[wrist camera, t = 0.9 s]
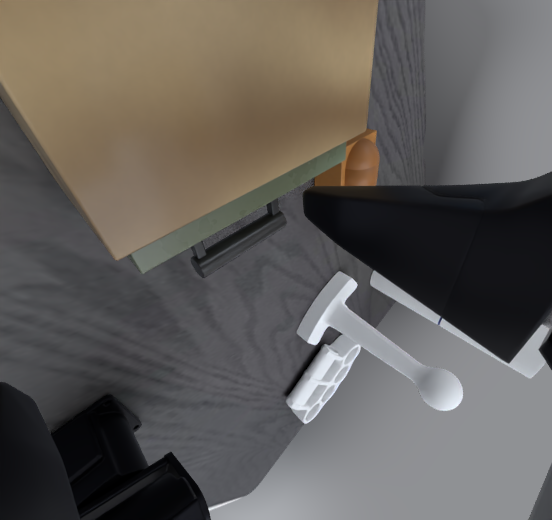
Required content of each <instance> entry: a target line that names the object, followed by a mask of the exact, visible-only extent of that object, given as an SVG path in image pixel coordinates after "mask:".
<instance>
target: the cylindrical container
mask: <svg viewBox="0 0 552 520" xmlns="http://www.w3.org/2000/svg"><path fill="white" fill-rule="evenodd" d="M370 285H371V286H372V287H374V288H376V289H377V290H379V291H381V292H382V293H384V294H386V295H388V296H389V297H391V298H393V299H394V300H396V301H398V302H399V303H401V304H403V305H405V306H406V307H408V308H410V309H411V310H413V311H415V312H417V313H418V314H420V315H422V316H424V317H425V318H427V319H429V320H430V321H432V322H434V323H435V324H437V325H440V326H441V327H442V328H444V329H446V330H447V331H449V332H451V333H452V334H454V335H456V336H458V337H459V338H461V339H463V340H464V341H466V342H468V343H470V344H471V345H473V346H475V347H476V348H478V349H480V350H482V351H483V352H485V353H487V354H488V355H490V356H492V357H493V358H495V359H497V360H499V361H500V362H502V363H504V364H506V365H507V366H509V367H511V368H512V369H514V370H516V371H518V372H519V373H521V374H523V375H524V376H526V377H528V378H529V379H530V378H532V377H533V376H534V375H535V374H536V373H537V372H538V371H539V370H540V369H541V368H542V367H543V365H544V364H545V362H546V361H545V359H544V358H543V356H542V355H541V353H540V351H539V350H538V349H539V348H540V346H541V344H542V342H543V340H544V338H545V337H546V335H547V333H548V331H549V329H548V328H546V327H544V326H542V325H541V326H540V327H539V328H538V329H537V331H536V332H535V333H534V334H533V336H532V337H531V338H530V339H529V340H528V342H527V343H526V344H525V345H524V346H523V348H522V349H521V350H520V351H519V353H518V354H517V355H516V356H515V357H514V359H513V360H512V361H511V362H510V363H509V364H508V363H506V362H504V361H503V360H501V359H500V358H498V357H497V356H495V355H494V354H493V353H491V352H490V351H488V350H487V349H485V348H484V347H483V346H481V345H480V344H478V343H477V342H475V341H474V340H473V339H471V338H470V337H468V336H467V335H465V334H464V333H463V332H461V331H460V330H458V329H457V328H455V327H454V326H453V325H451V324H450V323H448V322H447V321H445V320H444V319H443V318H441V316H439V315H437V314H436V313H434V312H433V311H432V310H430V309H429V308H427V307H426V306H424V305H423V304H422V303H420V302H419V301H417V300H416V299H414V298H413V297H412V296H410V295H409V294H407V293H406V292H404V291H403V290H402V289H400V288H399V287H397V286H396V285H394V284H393V283H392V282H390V281H389V280H387V279H386V278H384V277H383V276H382V275H380V274H379V273H377V272H376V271H373V273H372V276H371V280H370Z"/></svg>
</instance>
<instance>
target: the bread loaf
mask: <svg viewBox="0 0 552 520" xmlns="http://www.w3.org/2000/svg"><path fill="white" fill-rule="evenodd" d="M376 132H377V131H376V130H371V129H366V131H365V132H363V133H361V134H359V135H357V136H356V137H354V138H352V139H350V140H348V141H346V159H345V160H344V161H342V162H341V163H339V164H337V165H335V166H334V167H332V168H330V169H328V170H326V171H325V172H323V173H321V174H319V175H318V176H316V177H315V186H376V182H377V175H378V167H379V152H378V149H377V147H376V146H375V141H376Z"/></svg>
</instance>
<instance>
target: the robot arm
mask: <svg viewBox="0 0 552 520" xmlns="http://www.w3.org/2000/svg"><path fill="white" fill-rule="evenodd" d="M303 206H304V214H305V216H306V217H307V219H308V220H310V221H311V222H312V223H313V224H314V225H315V226H317V227H318V228H319V229H320V230H321V231H322V232H323V233H325V234H326V235H327V236H328V237H329V238H330V239H332V240H333V241H334V242H335V243H336V244H338V245H339V246H340V247H342V248H343V249H344V250H346V251H347V252H349V253H350V254H352V255H353V256H354V257H356V258H357V259H359V260H360V261H362V262H363V263H364V264H366V265H367V266H369V267H370V268H372V269H373V270H374V271H376V272H377V273H379V274H380V275H382V276H383V277H384V278H386V279H387V280H389V281H390V282H392V283H393V284H394V285H396V286H397V287H399V288H400V289H402V290H403V291H404V292H406V293H407V294H409V295H410V296H412V297H413V298H414V299H416V300H417V301H419V302H420V303H422V304H423V305H424V306H426V307H427V308H429V309H430V310H432V311H433V312H434V313H436V314H437V315H439V316H441V318H443V319H444V320H445V321H447V322H448V323H450V324H451V325H453V326H454V327H455V328H457V329H458V330H460V331H461V332H463V333H464V334H465V335H467V336H468V337H470V338H471V339H473V340H474V341H475V342H477V343H478V344H480V345H481V346H483V347H484V348H485V349H487V350H488V351H490V352H491V353H493V354H494V355H495V356H497V357H498V358H500V359H501V360H503V361H504V362H506V363H508V364H509V363H510V362H511V361H512V360H513V359H514V357H515V356H516V355H517V354H518V353H519V351H520V350H521V349H522V348H523V346H524V345H525V344H526V343H527V342H528V340H529V339H530V338H531V337H532V336H533V334H534V333H535V332H536V331H537V329H538V328H539V327H540V326H541V325H542V324H543V325H545V326H547V327H549V328H550V329H549V331H548V333H547V335H546V337H545V338H544V340H543V342H542V344H541V346H540V348H539V349H538V350H539V351H540V353H541V355H542V356H543V358H544V359H545V361H546V362H547V364H548V365H549V367H550V368H551V370H552V172H550V173H547V174H545V175H542V176H540V177H537V178H534V179H530V180H526V181H521V182H510V183H492V184H474V185H445V186H444V185H443V186H442V185H440V186H312V187H310V188H309V189H307V190H305V191H304V192H303ZM141 425H142V424H141V422H140V420H139V419H138V418H137V417H136V416H135V415H134V414H132V413H131V412H130V411H129V410H128V409H127V408H126V407H125V406H123V405H122V404H121V403H120V402H119V401H118V400H117V399H116V398H115V397H113V396H112V395H106V396H104V397H103V398H101V399H100V400H99V401H97V402H96V403H94V404H93V405H92V406H90V407H89V408H87V409H86V410H85V411H83V412H82V413H80V414H79V415H78V416H76V417H75V418H73V419H72V420H71V421H69V422H68V423H66V424H65V425H64V426H62V427H61V428H59V429H58V430H57V431H55V432H54V433H52V434H50V432H49V430H48V428H47V426H46V424H45V422H44V420H43V418H42V416H41V413H40V411H39V409H38V407H37V405H36V403H35V402H34V401H33V399H32V398H30V397H29V396H28V395H26V394H24V393H23V392H21V391H19V390H17V389H16V388H14V387H12V386H11V385H9V384H7V383H5V382H0V520H211V519H210V513H209V510H208V506H207V504H206V501H205V499H204V496H203V494H202V492H201V490H200V489H199V487H198V485H197V484H196V483H195V481H194V480H193V479H192V478H191V476H190V475H189V474H188V472H187V471H186V470H185V469H184V467H183V466H182V465H181V464H180V462H179V461H178V460H177V458H176V457H175V456H174V455H173V453H172V452H169V453H168V454H166V455H164V457H163V458H162V459H160V460H158V461H157V462H155V463H154V464H152V465H150V466H148V463H147V461H146V459H145V457H144V455H143V453H142V451H141V448H140V446H139V444H138V442H137V440H136V438H135V436H134V432H135V431H137V430H138V429H139V428H140V427H141ZM528 520H552V464H551V466H550V469H549V471H548V473H547V476H546V478H545V481H544V483H543V486H542V488H541V491H540V493H539V495H538V498H537V500H536V502H535V505H534V507H533V510H532V512H531V515H530V517H529V519H528Z"/></svg>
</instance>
